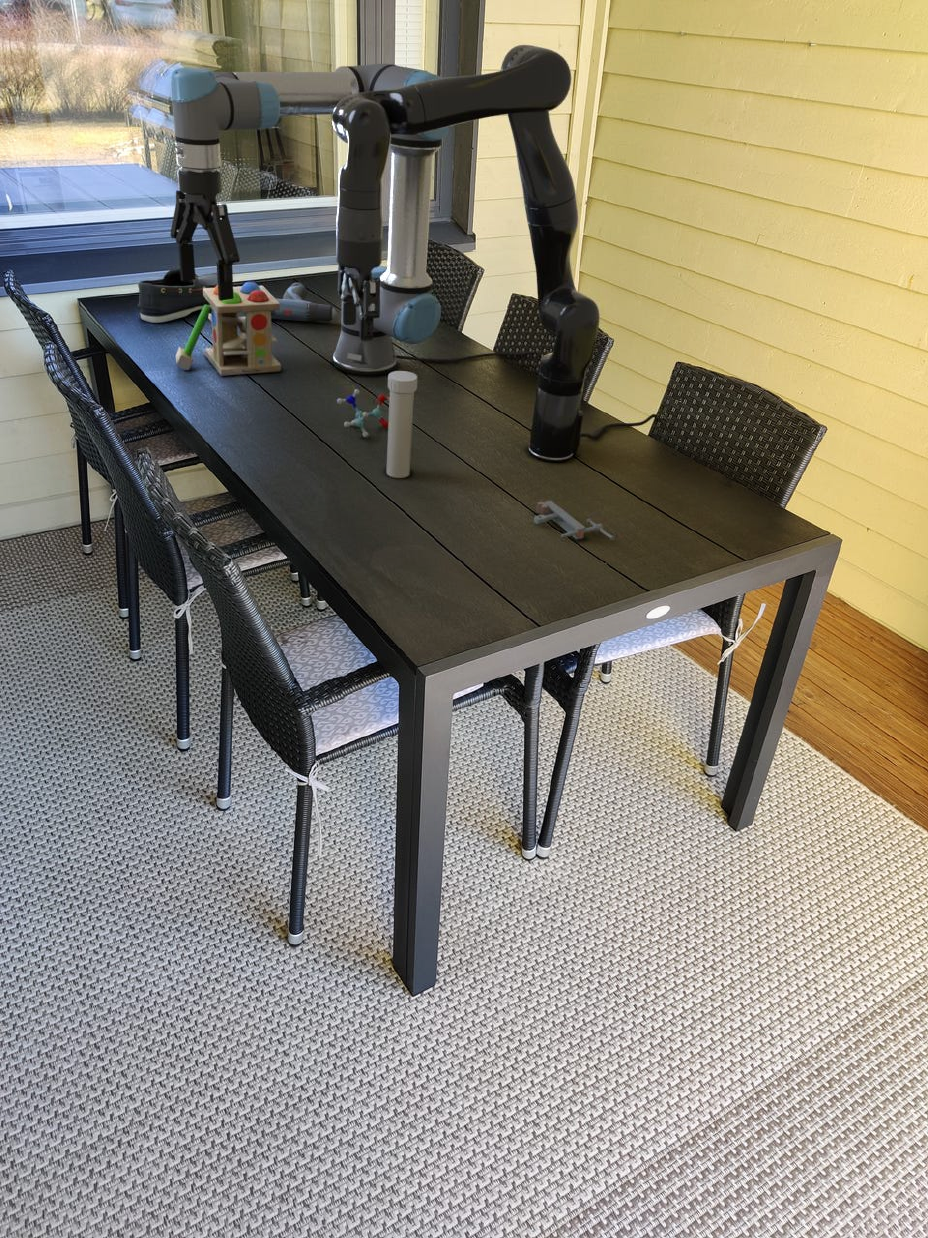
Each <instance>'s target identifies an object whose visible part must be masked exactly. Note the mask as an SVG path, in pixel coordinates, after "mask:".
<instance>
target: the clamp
mask: <svg viewBox="0 0 928 1238" xmlns="http://www.w3.org/2000/svg"><path fill="white" fill-rule="evenodd" d="M535 513H536V514H539V515H534V517H533V522H534V524H537V525H541V524H545V523H547V522H548V521H553V522H554V523H556V524H557V525H558V526H559V527H561V528H562V529H563V530H564V531H565V533H562V534H560V537H561V538H565V537H569V538H570V537H573V538H574V539H575V540H581V539H584V537H585V536H584V535H585V534H586V533H591V532H595V533H598V532H601V533H602V534H603V535H605V536H606V537H607V538H609V541H611V542H612V541H614V540H615V538H616V537H615V536H614V535H611V534H610V533H608V531H606V530H604V526H603V524H602V523H597V524H596V523H595V522H594V521H593V520H592V518H587V521H586V523H587V524H588V525H591V526H590V527H589V526H588V527H585V526H584V525H583V524H582V523H580V522H579V521H578V520H577V519H575V518H574V517H573V516H571V515H570V514H569V513H568V512H567V511H565V510H564V509H563V508H561V506H559V505H558V504H556V503H555V502H553V500H546V501H538V502H537V504H536V510H535Z"/></svg>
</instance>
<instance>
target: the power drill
mask: <svg viewBox="0 0 928 1238" xmlns="http://www.w3.org/2000/svg"><path fill="white" fill-rule="evenodd" d="M307 295H308V290H307V287H306V285H304V284H303V283H301V282H293V283H292V284H291V285H290V286H289V287H288V288H287V289H286V291H285V292H284V294H283V297H282V298H275V299H276V300H277V301H278V302H279V303H280V310H271V319H274V320H275V319H276V320H283V321H294V322H295V321H297V322H332V321H333V320H334V319H336V318H337V317H338V312H337V311H336V308H334V307H333V306H332V305H331V304H324V303H317V302H313V301H307V300H305V299H306V297H307Z"/></svg>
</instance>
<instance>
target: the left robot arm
mask: <svg viewBox="0 0 928 1238" xmlns="http://www.w3.org/2000/svg"><path fill="white" fill-rule="evenodd" d="M170 77H171V80H170V81H171V82H170V91H171V92H170V93H171V94H170V100H171V102H172V116H173V125H174V126H173V128H174V140H175V149H174V152H175V154H176V164H177V165H178V166H179V168H178V169H177V182H178V184H177V185H178V189H176V191H175V206H174V212H173V217H172V223H171V227H170V238H172V239H175V243H176V244H177V246H178V258H179V267H180V273H181V281H189V280H196V278H195V274H196V267H195V266H196V265H195V251H194V244H193V243H194V239H193V237H194V234H195V232H196V230H197V228H198V225H200V226H201V228H202V229H203V230H204V231H206V233H207V235H208V238H209V240H210V243H211V245H212V247H213V250H214V253H215V255H216V257H217V259H218V260H217V262H215V264H216V273H217V280H218V297H219V300H220V301H222V300H228V299H234V298H233V287H234V282H233V281H234V275H233V274H234V272H233V271H234V270H233V264H235V263H239V262H240V259H241V258H240V254H239V251H238V248H237V244H236V241H235V237H234V234H233V230H232V226H231V222H230V218H229V210H228V205H227V204H226V203H222V204H221V203H219V204H218V202H217V195H219V194H221V193H222V191H223V185H222V183H223V182H222V172H221V170H220V167H221V166H222V161H221V145H220V131H237V130H238V131H239V130H240V131H241V130H242V131H243V130H246V131H247V130H257V131H260V130H264V129H271V128H274V127H275V126H276V125H277V124H278V122H279V120H280V117H281V116H318V115H319V116H320V115H321V116H322V115H333V112H334V109H335V107H336V105H337V104H338V103H339V102H340V101H341V100H342V99H343V98H345V97H347V96H350V95H353V94H357V93H362V92H370V91H380V90H393V89H398V88H402V87H405V86H408V85H412V84H416V83H420V82H424V81H429V80H433V79H439V78H442V77H441V76H440V75H438V74H435V73H431V72H429V71H428V70H424V69H419V68H418V69H417V68H413V67H406V66H401V65H397V64H394V63H375V64H374V63H373V64H363V65H349V66H348V65H342V66H338V67H337V68H336V69H335V70H334V71H230V72H229V71H213V70H211V69H207V68H201V67H200V68H199V67H186V66H185V67H177V68H175V69H173V71H172V73H171V76H170ZM452 127H453V126H449V127H445V128H441V129H438V130H434V131H430V132H426V133H422V134H418V135H413V136H404V135H398V134H395V135H391V141H390V147H389V151H390V152H391V159H390V160H391V161H390V162H391V163H390V187H389V189H390V190H389V211H388V213H389V215H388V217H389V218H388V243H387V266H386V265H380V266H378V267H376V268H374V269H373V270H372V278H373V281H379V282H380V317H379V318H374V322H373V339H372V340H371V341H362V340H361V339H360V338H359V334H360V315H359V310H358V307H357V306H356V323H355V324H354V325H345V324H344V323H343V303H344V302H342V301H341V316H340V317H341V319H340V321H341V324H340V325H341V326H340V329H341V330H340V336H339V338H338V341H337V344H336V348H335V350H334V352H333V354H332V355H333V361H332V362H333V363H332V364H333V366H334V367H335V368H337V369H338V370H339V371H342V372H344V373H347V374H352V375H356V376H380V375H381V376H382V375H386V374H390V373H391V372H394V371H395V369H396V368H397V361H398V360H399V359H401V360H412V361H416V362H427V363H454V362H455V363H456V362H462V361H467V360H471V359H479V358H485V357H496V356H497V357H499V356H501V357H502V356H503V357H504V356H506V357H508V356H509V357H523V356H529V355H536V354H535V353H528V352H529V351H525V352H489V353H480V354H474V355H473V354H471V355H467V356H462V357H456V358H427V357H426V358H424V357H414V356H409V355H399V354H396V352H395V347H394V343H393V341H392V338H393V339H395V340H396V341H399V342H400V343H401V342H402V343H406V344H409V345H418V344H421V343H423V342H425V341H427V340H428V339H429V338H430V337H431V336H432V334H433V333H434V332H435V331H436V329H437V328H438V327H439V324H440V320H441V317H442V316H441V315H442V309H441V308H442V307H441V303H440V302H439V301H438V299H437V297H436V296H434V294H432V293H433V279H432V278H431V277H430V275H429V274H428V273H427V263H428V260H427V259H428V245H429V231H430V230H429V228H430V212H431V197H432V183H433V182H432V179H433V165H434V164H433V163H434V155H435V154H436V153H437V152H438V151H439V150H440V149H441V147H442V140H443V138H445V137H446V136H447V135H448V133H450V130H449V129H451V128H452ZM374 308H375V304H374ZM363 309H364V306H363ZM369 311H370V309H369Z"/></svg>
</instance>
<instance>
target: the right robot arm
mask: <svg viewBox="0 0 928 1238" xmlns="http://www.w3.org/2000/svg"><path fill="white" fill-rule="evenodd" d="M571 86H572V71H571V68H570V66H569V64H568V62H567V60H566V59H565V58H564V56H563V55H561V54H560V53H558V52H557V51H554V50H552V49H549V48H546V47H541V46H538V45H537V46H536V45H531V44H518V45H515V46H513V47H512V48H510V50H509V51H508V52H507V53H506V55H505V56H504V58H503V60H502V62H501V66H500V70H498V71H495V72H488V73H483V74H482V73H481V74H473V75H461V76H449V77H447V76H446V77H441V78H439V79H433V80H429V81H424V82H420V83H416V84H412V85H408V86H405V87H402V88H398V89H393V90H380V91H370V92H362V93H357V94H353V95H350V96H347V97H345V98H343V99H342V100H341V101H340V102H339V103H338V104H337V105H336V107H335V109H334V112H333V114H332V115H331V122H332V123H331V124H332V127H333V130H334V132H335V133H336V135H337V136H338V138H339V139H340V140H341V141H343V142H344V143H346V144H347V146H348V147H347V148H348V149H347V156H346V164H344V165H343V166H341V168H340V169H339V172H338V181H337V212H336V218H335V219H336V221H335V222H336V224H335V225H336V226H335V227H336V229H335V231H336V232H335V234H336V235H335V236H336V237H335V261H336V263H337V268H338V269H337V271H338V272H337V295H338V296H340V301H341V303H342V302H344V303H343V323H344V324H345V325H354V324H355V323H356V306H357V307H358V310H359V315H360V334H359V338H360V339H361V340H362V341H371V340H372V339H373V322H374V318H379V317H380V282H379V281H373V278H372V270H373V269H374V268H376V267H378V266H382V261H383V259H382V258H383V230H384V228H383V227H384V221H383V220H384V219H383V207H382V205H383V177H384V174H385V169H386V166H387V161H388V157H389V151H390V148H389V147H390V141H391V135H395V134H398V135H404V136H413V135H418V134H422V133H426V132H430V131H434V130H438V129H441V128H445V127H449V126H452V127H453V126H457V125H460V124H464V123H468V122H472V121H477V120H481V119H486V118H492V117H496V116H497V117H498V116H504V115H505V116H506V115H507V118H508V122H509V125H510V130H511V134H512V137H513V142H514V146H515V147H514V148H515V153H516V159H517V165H518V171H519V178H520V183H521V188H522V195H523V203H524V210H525V215H526V222H527V227H528V232H529V236H530V237H529V238H530V243H531V250H532V256H533V260H534V267H535V275H536V290H537V291H536V292H537V307H538V315H539V320H540V323H541V325H542V327H543V328H544V329H545V330H546V331H547V332H548V333H549V334H551V335H552V336H554V337H555V340H554V345H553V351H552V352H549V353H546V354H543V355H544V356H543V357H540V362H539V369H538V376H537V383H536V384H537V385H536V391H535V392H536V393H535V400H534V406H533V407H534V408H533V413H532V423H531V428H530V432H529V435H530V438H529V444H528V448H527V450H528V453H529V454H530V455H531V456H532V457H534V458H536V459H538V460H541V461H544V462H550V463H551V462H552V463H561V462H562V463H563V462H567V461H569V460H571V459H572V458H574V457H577V455H578V450H579V448H580V444H581V438H589V439H594V440H595V439H597V438H598V437H599V436H600V435H601V434H602V433H603V432H604V431H605V430H607V429H610V428H619V427H620V428H621V427H627V428H628V427H639V426H643V425H645V424H646V423H648V422H650V421H651V420H652V419H654V418H655V419H656V417H657V416H658V415H657V413H652V414H651V415H649V416H648V417H646V418H645V419H644V420H641V421H637V422H621V423H620V422H618V423H617V422H616V423H609V424H606V425H604V426H602V427H601V428H600V429H598V431H596V433H595V434H591V433H583V432H581V430H582V424H583V418H584V413H583V411H581V406H582V397H583V391H584V386H585V378H586V373H587V370H588V368H589V366H590V365H591V362H592V360H593V357H594V352H595V347H596V342H597V338H598V334H599V327H600V318H601V317H600V315H601V314H600V310H599V309H600V308H599V306H598V305H597V304H598V303H596V301H595V300H593V299H592V298H591V297H589V296H587V295H585V294H583V293H581V292H579V291H578V290H577V289H576V286H575V282H574V277H573V272H572V266H571V265H572V263H571V254H572V249H573V245H574V242H575V240H576V236H577V232H578V227H579V210H578V200H577V193H576V188H575V183H574V179H573V176H572V173H571V171H570V168H569V165H568V163H567V162H566V159H565V157H564V155H563V153H562V151H561V149H560V146H559V145H558V142H557V140H556V137H555V135H554V132H553V128H552V124H551V118H550V112H551V111H553V110H556V108H558V107H560V105H562V103H563V102H564V101H565V100H566V98H567V96H568V94H569V92H570V91H571ZM374 304H375V308H374ZM363 306H364V309H363ZM369 309H370V311H369Z"/></svg>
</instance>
